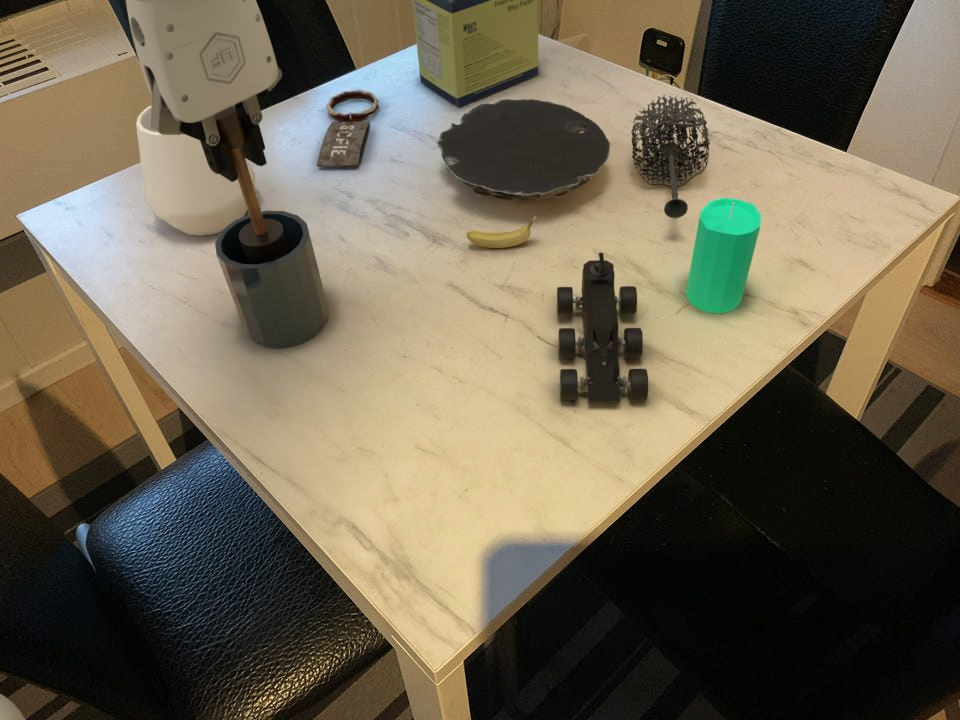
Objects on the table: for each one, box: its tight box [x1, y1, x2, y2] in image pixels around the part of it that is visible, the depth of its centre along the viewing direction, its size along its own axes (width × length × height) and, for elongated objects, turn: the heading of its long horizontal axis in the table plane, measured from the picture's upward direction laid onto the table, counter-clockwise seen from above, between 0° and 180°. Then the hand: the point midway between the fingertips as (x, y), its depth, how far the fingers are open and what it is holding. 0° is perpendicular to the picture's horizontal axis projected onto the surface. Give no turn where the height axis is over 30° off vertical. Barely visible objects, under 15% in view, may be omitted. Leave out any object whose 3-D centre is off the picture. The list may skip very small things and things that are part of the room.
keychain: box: [316, 89, 380, 168], centre depth 113 cm, size 8×19×2 cm, turn 177°
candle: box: [685, 197, 762, 315], centre depth 82 cm, size 6×6×12 cm
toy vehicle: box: [556, 252, 649, 403], centre depth 78 cm, size 8×15×9 cm, turn 178°
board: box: [436, 98, 611, 203], centre depth 102 cm, size 22×22×5 cm
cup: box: [135, 104, 256, 237], centre depth 96 cm, size 13×13×14 cm
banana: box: [466, 213, 537, 249], centre depth 93 cm, size 8×2×4 cm, turn 94°
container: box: [214, 210, 330, 349], centre depth 83 cm, size 9×9×11 cm
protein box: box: [411, 0, 540, 108], centre depth 117 cm, size 10×16×16 cm
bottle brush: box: [214, 106, 290, 264], centre depth 76 cm, size 4×4×17 cm
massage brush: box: [630, 94, 711, 219], centre depth 97 cm, size 9×22×9 cm, turn 174°
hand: (240, 166), depth 73 cm, fingers closed on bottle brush, 2 cm apart
